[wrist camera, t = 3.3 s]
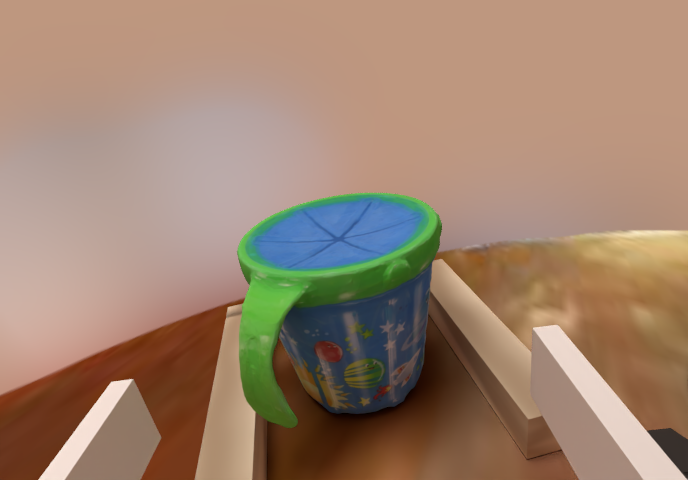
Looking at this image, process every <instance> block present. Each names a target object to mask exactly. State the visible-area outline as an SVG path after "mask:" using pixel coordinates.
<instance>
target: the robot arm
mask: <svg viewBox="0 0 688 480" xmlns="http://www.w3.org/2000/svg"><path fill="white" fill-rule="evenodd" d="M530 395H531V397H532V398H533V400H534V402H535V404H536V405H537V407H538V409H539V411H540V412H541V414H542V416H543V418H544V419H545V421H546V423H547V424H548V426H549V428H550V430H551V431H552V433H553V435H554V437H555V438H556V440H557V442H558V444H559V445H560V447H561V449H562V451H563V452H564V454H565V456H566V458H567V459H568V461H569V463H570V465H571V466H572V468H573V470H574V472H575V473H576V475H577V477H578V479H579V480H688V440H687V439H686V438H684V437H683V436H681V435H680V434H679V433H677V432H676V431H674V430H673V429H671V428H668V429H658V430H649V431H646V430H645V429H644V427H643V426H642V425H641V424H640V423H639V421H638V420H637V419H636V418H635V417H634V415H633V414H632V413H631V412H630V411H629V410H628V408H627V407H626V406H625V405H624V404H623V402H622V401H621V400H620V399H619V398H618V396H617V395H616V394H615V393H614V392H613V390H612V389H611V388H610V387H609V386H608V384H607V383H606V382H605V381H604V380H603V378H602V377H601V376H600V375H599V374H598V373H597V371H596V370H595V369H594V368H593V367H592V365H591V364H590V363H589V362H588V361H587V359H586V358H585V357H584V356H583V355H582V353H581V352H580V351H579V350H578V349H577V347H576V346H575V345H574V344H573V343H572V341H571V340H570V339H569V338H568V337H567V335H566V334H565V333H564V332H563V331H562V330H561V328H560V327H559V326H558V325H552V326H544V327H536V328H533V330H532V356H531V383H530ZM160 439H161V436H160V434H159V432H158V430H157V428H156V426H155V424H154V422H153V419H152V417H151V415H150V413H149V411H148V409H147V407H146V405H145V403H144V401H143V399H142V396H141V394H140V392H139V390H138V388H137V386H136V384H135V382H134V380H133V379H130V380H122V381H115V382H111V383H110V385H109V386H108V387H107V389H106V390H105V391H104V393H103V394H102V395H101V397H100V398H99V399H98V401H97V402H96V403H95V405H94V406H93V407H92V409H91V410H90V411H89V413H88V414H87V415H86V417H85V418H84V419H83V421H82V422H81V423H80V425H79V426H78V427H77V429H76V430H75V432H74V433H73V434H72V436H71V437H70V438H69V440H68V441H67V442H66V444H65V445H64V446H63V448H62V449H61V450H60V452H59V453H58V454H57V456H56V457H55V458H54V460H53V461H52V462H51V464H50V465H49V466H48V468H47V469H46V470H45V472H44V473H43V475H42V476H41V477H40V479H39V480H140V479H141V477H142V475H143V473H144V471H145V469H146V467H147V465H148V463H149V461H150V459H151V457H152V455H153V453H154V451H155V449H156V447H157V445H158V443H159V441H160Z"/></svg>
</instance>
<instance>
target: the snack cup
mask: <svg viewBox="0 0 688 480" xmlns="http://www.w3.org/2000/svg"><path fill="white" fill-rule="evenodd" d="M441 230H442V223H441V220H440V218H439V215H438V214H437V213H436V212H435V211H434V210H433V208H431V207H430V206H429V205H427V204H426V203H424V202H423V201H421V200H418V199H416V198H412V197H408V196H404V195H398V194H388V193H356V194H347V195H339V196H333V197H328V198H323V199H319V200H314V201H311V202H307V203H303V204H300V205H297V206H294V207H291V208H289V209H286V210H284V211H281V212H279V213H276V214H274V215H272V216H270V217H268V218H267V219H265V220H263V221H261V222H260V223H259V224H257V225H256V226H254V227H253V228H252V229H251V230H250V231H249V232H248V233H247V234H246V235H245V236H244V237H243V238H242V240H241V242H240V244H239V247H238V251H237V253H238V258H239V263H240V266H241V269H242V272H243V274H244V277H245V279H246V281H247V282H248V284H249V285H250V287H249V289H248V292H247V294H246V297H245V301H244V303H243V305H242V317H241V321H240V327H239V363H240V377H241V382H242V388H243V392H244V396H245V398H246V401H247V402H248V404H249V405H250V406H251V407H252V409H253V410H254V411H255V412H256V413H258V414H259V415H260V416H261V417H263V418H264V419H266V420H267V421H269V422H272V423H275V424H279V425H282V426H284V427H286V428H293V427H296V425H297V423H298V420H297V418H296V416H295V414H294V413H293V411H292V410H291V408H290V407H289V405H288V403H287V400H286V398H285V396H284V394H283V392H282V390H281V388H280V387H279V386H278V384H277V382H276V378H275V375H274V371H273V367H272V357H273V352H274V348H275V346H276V344H277V341H278V338H280V340H281V342H282V344H283V346H284V348H285V350H286V352H287V354H288V356H289V358H290V360H291V362H292V365H293V367H294V369H295V371H296V373H297V375H298V377H299V379H300V381H301V383H302V385H303V387H304V388H305V390H306V391H307V393H308V394H309V395H310V396H311V397H313V398H314V399H315V400H316V401H317V402H318V403H319V404H321V405H323V407H324V408H326V409H327V410H328V411H329V412H332V413H337V414H340V413H351V414H354V413H355V414H363V413H369V412H375V411H378V410H380V409H383V408H386V407H395V406H396V405H398V404H399V403H401V402H403V401H404V399H405V397H406V396H407V394H408V393H409V392H410V390H411V389H413V388H414V387H415V385H416V383H417V381H418V379H419V376H420V374H421V370H422V366H423V364H424V349H425V341H426V328H427V322H428V310H429V299H430V282H431V279H432V276H431V274H432V262H433V260H434V258H435V256H436V253H437V251H438V249H439V245H440V244H439V243H440V235H441Z"/></svg>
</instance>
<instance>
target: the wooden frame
mask: <svg viewBox="0 0 688 480" xmlns="http://www.w3.org/2000/svg"><path fill="white" fill-rule="evenodd" d="M431 276H432V279H431V282H430V299H429V310H428V314H429V315H430V317H431V318H432V320H433V321H434V323H435V324H436V326H437V327H438V329H439V330H440V331H441V333H442V334H443V336H444V337H445V339H446V340H447V342H448V343H449V345H450V346H451V348H452V349H453V351H454V352H455V354H456V355H457V357H458V358H459V360H460V361H461V363H462V364H463V365H464V367H465V368H466V370H467V371H468V373H469V374H470V376H471V377H472V379H473V380H474V382H475V383H476V385H477V386H478V388H479V389H480V391H481V392H482V394H483V395H484V397H485V398H486V400H487V401H488V402H489V404H490V405H491V407H492V408H493V410H494V411H495V413H496V414H497V416H498V417H499V419H500V420H501V422H502V423H503V425H504V426H505V428H506V429H507V431H508V432H509V434H510V435H511V436H512V438H513V439H514V441H515V442H516V444H517V445H518V447H519V448H520V450H521V451H522V453H523V454H524V456H525V457H526V459H530V458H533V457H537V456H540V455H544V454H548V453H551V452H555V451H558V450H562V449H561V447H560V445H559V444H558V442H557V440H556V438H555V437H554V435H553V433H552V431H551V430H550V428H549V426H548V424H547V423H546V421H545V419H544V418H543V416H542V414H541V412H540V411H539V409H538V407H537V405H536V404H535V402H534V400H533V398H532V397H531V395H530V383H531V356H532V353H531V352H530V351H529V350H528V349H527V348H526V347H525V346H524V344H523V343H522V342H521V341H520V340H519V339H518V338H517V337H516V336H515V335H514V334H513V333H512V332H511V331H510V330H509V329H508V328H507V327H506V326H505V325H504V324H503V323H502V322H501V320H500V319H499V318H498V317H497V316H496V315H495V314H494V313H493V312H492V311H491V310H490V309H489V308H488V307H487V306H486V305H485V304H484V303H483V302H482V301H481V300H480V299H479V298H478V297H477V295H476V294H475V293H474V292H473V291H472V290H471V289H470V288H469V287H468V286H467V285H466V284H465V283H464V282H463V281H462V280H461V279H460V278H459V277H458V276H457V275H456V274H455V273H454V271H453V270H452V269H451V268H450V267H449V266H448V265H447V264H446V263H445V262H444V261H443V260H442V259H440V260H435V261H433V262H432V274H431ZM242 305H243V304H240V305H236V306H232V307H228V311H227V316H226V321H225V326H224V332H223V337H222V342H221V347H220V352H219V357H218V363H217V368H216V373H215V378H214V383H213V388H212V394H211V399H210V404H209V409H208V414H207V419H206V425H205V430H204V435H203V440H202V445H201V450H200V456H199V461H198V466H197V471H196V476H195V480H267V420H266V419H264V418H263V417H261V416H260V415H259V414H258V413H256V412H255V411H254V410H253V409H252V407H251V406H250V405H249V404H248V402H247V401H246V398H245V396H244V392H243V388H242V382H241V377H240V363H239V327H240V321H241V317H242Z"/></svg>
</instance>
